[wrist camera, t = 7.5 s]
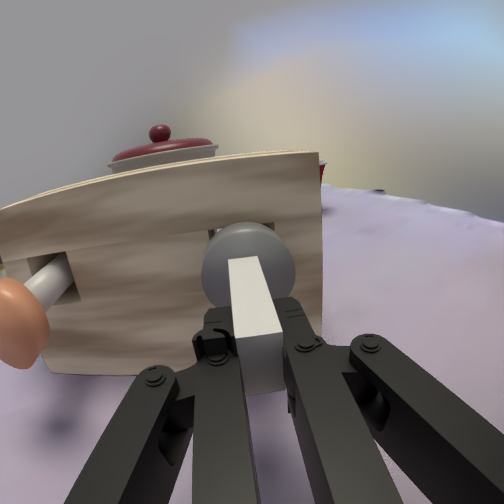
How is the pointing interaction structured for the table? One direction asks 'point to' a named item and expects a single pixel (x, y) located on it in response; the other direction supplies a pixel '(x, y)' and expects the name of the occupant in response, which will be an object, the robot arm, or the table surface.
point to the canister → (162, 151)
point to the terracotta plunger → (30, 311)
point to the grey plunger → (246, 245)
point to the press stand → (157, 252)
